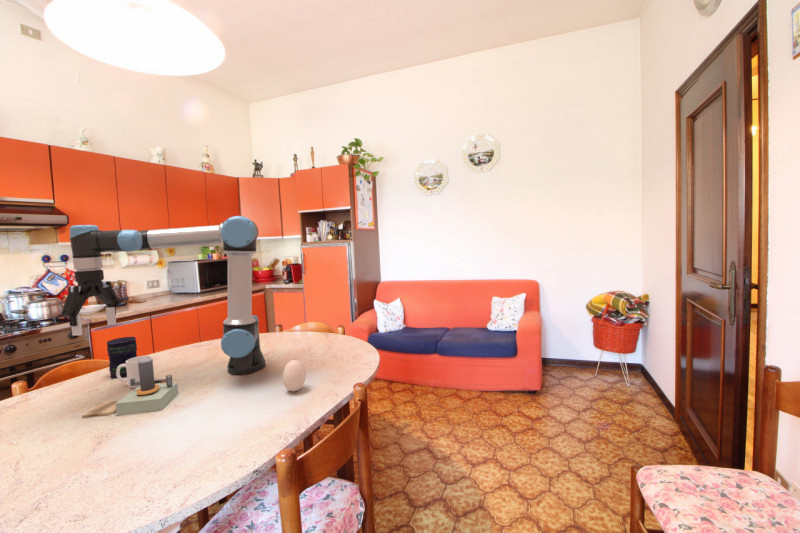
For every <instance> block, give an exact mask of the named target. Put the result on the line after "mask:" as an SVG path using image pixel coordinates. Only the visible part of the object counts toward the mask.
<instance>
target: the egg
mask: <svg viewBox="0 0 800 533" xmlns="http://www.w3.org/2000/svg"><path fill="white" fill-rule="evenodd" d="M306 378H307V377H306V370H305V368H304V365H303V364H302V363H301V362H300V361H299V360H296V359H292V360H290V361H288V363H287V364H286V365H285V366H284V369H283V372H282V383H283V385H284V387H285V388H286V389H287V390H288V391H290V392H298V391H299V390H301V389H302V387H303V386H304V385H305V382H306Z"/></svg>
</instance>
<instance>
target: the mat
mask: <svg viewBox="0 0 800 533" xmlns="http://www.w3.org/2000/svg"><path fill="white" fill-rule="evenodd" d="M118 401H119V400H115V401H114V400H113V401H104V402H99V403H97V404H96V405H95V406H93V407H92V408H90V409H89V410H88V411H86V412H84V413H83V414H82V415H81V419H85V418H93V417H102V416H103V417H104V416H113V415H115V414H117V412H116V403H117V402H118Z"/></svg>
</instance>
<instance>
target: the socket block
mask: <svg viewBox="0 0 800 533" xmlns="http://www.w3.org/2000/svg"><path fill="white" fill-rule="evenodd" d="M172 383H173V386H171V387H167V384H166V383H159V384H158V385H159V390H158V391H156V392H155V393H154V394H153V395H146V396H141V395H137V392H136V391H137V390H138V389H140V388H141V387H137V388H133V390H131V391H130V392H129V393H127V394H126V395H125V396H124V397H122V398H121V399H119V400H117V401H118V402H117V403H116V416H122V415H123V416H124V415H130V414H131V415H133V414H139V413H140V414H141V413H147V412H157V411H162V410H163V409H164V408H166V406H167V405H168V404H170V402H171V401H172V400H173V399H174V398H175V397H176V396H177V395H178V394H179V387H178V386H179V385H178V382H172Z"/></svg>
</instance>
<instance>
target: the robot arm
mask: <svg viewBox="0 0 800 533" xmlns="http://www.w3.org/2000/svg"><path fill="white" fill-rule="evenodd" d="M258 237H259V229H258V225H257V224H256V223H255V222H254V221H253V220H251V219H250V218H248V217H246V216H243V215H235V216H231V217H229V218H227V219H226V220H225V221H223V222H221V223H220V224H216V225H215V224H214V225H200V226H199V225H198V226H188V227H186V226H185V227H173V228H172V227H171V228H160V229H159V228H158V229H147V230H146V229H144V230H137V229H116V230H100V229H99V226H98V225H95V224H77V225H71V226H70V227H69V241H70V247H71V248H70V249H71V254H72V255H71V256H72V264H73V270H75V271H74V281H75V282H76V283H77V285H71V286H68V287H67V288H68V290H67V295H66V299H65V302H64V305H63V308H62V310H61V313H60V315H61V316H62V317H66V318H67V317H68V322H69V327H71V333H72V334H71V335H72V336H73V337H74V336H82V335H83V329H82V328H83V326H82V319H81V315H79V314H80V311H81V309H82V308H83V306H84V304H85V303H86V301H87V300H88V299H90V298H93V297H97V298H98V299H100V300H101V301H102V303H103V304H105V305H106V307H105V314H106V320H107V321H106V322H107V323H106V324H107V326H116V325H117V317H116V316H117V307H119V305H120V304H121V301H120V299H119V298H118V296H117V293H116V292H115V291H114V289H113V287H112V284H111V281H110V280H105V281H104V279H105V277H104V270H103V267H104V266H103V258H102V253H110V252H111V253H114V252H115V253H116V252H135V251H137V252H138V251H146V250H155V249H168V248H179V247H181V248H182V247H192V246H193V247H195V246H204V245H205V246H207V245H216V244H222V245H223V246H222V252H224V253H225V254H226V256H227V317H226V318H225V319H224V320H223V322H222V324H223V325H222V328H223V329H222V334H223V336H222V337H221V340H220V348H221V350H222V352H223V353H224V354H225V355H226V356H228V357H229V360H228V362H227V366H226V367H227V368H226V370H227V372H228V374H230V375H235V376H236V375H237V376H239V375H240V376H241V375H248V374H252V373H256V372H258V371H261V370H263V369H264V368H265V367H266V359H265V357H264V354H263V352H262V349H261V343H260V342H261V341H260V329H259V328H260V327H259V323H260V321H259V317H258V316H257V314H255V315H253V314H252V313H253V311H252V310H253V308H252V306H253V305H252V304H253V302H252V300H253V291H252V290H253V281H252V280H253V256H254V255H255V253H257V240H258Z"/></svg>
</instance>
